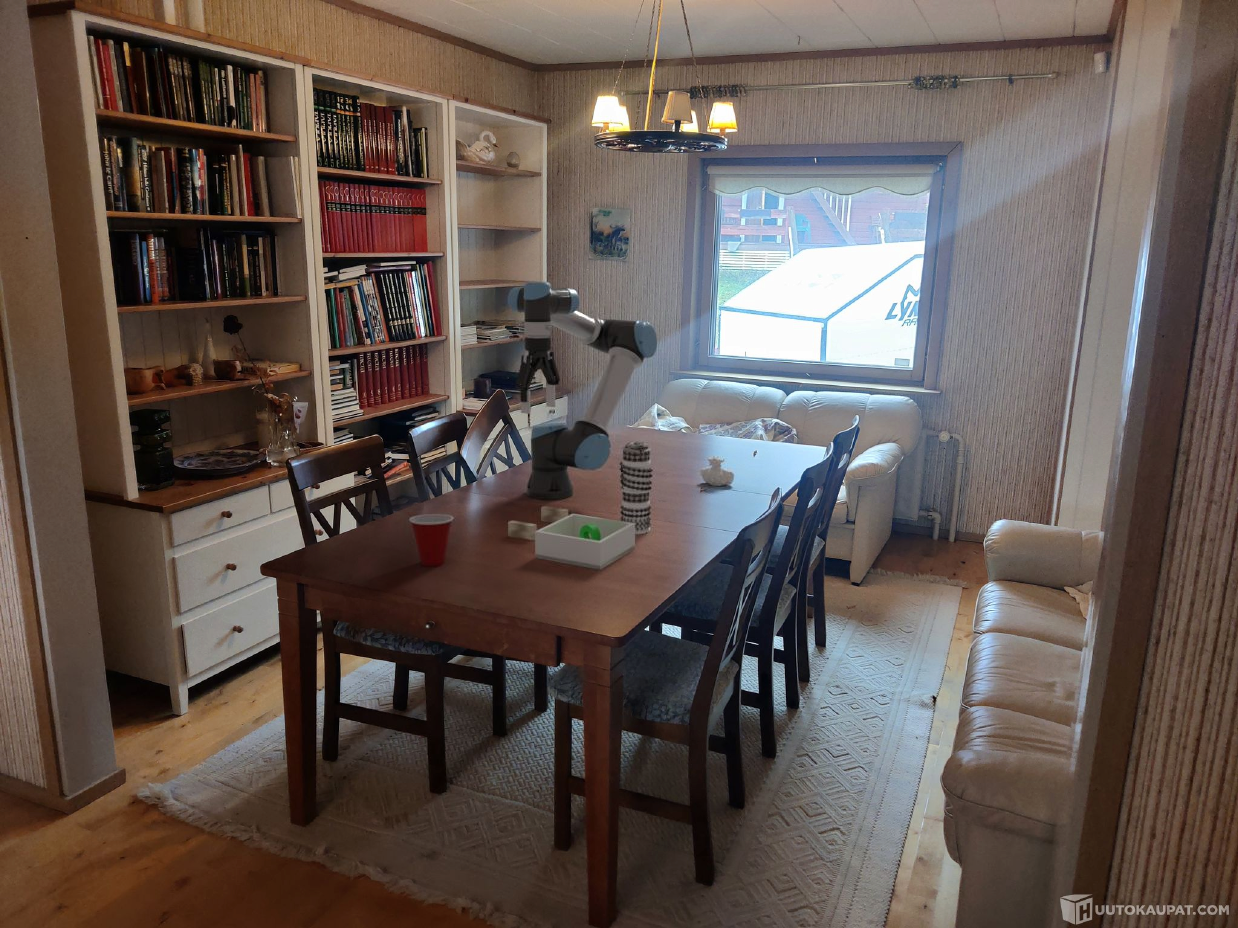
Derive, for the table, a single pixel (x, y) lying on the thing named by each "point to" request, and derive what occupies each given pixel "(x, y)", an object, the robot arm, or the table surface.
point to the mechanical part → (592, 530)
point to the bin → (584, 541)
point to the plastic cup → (432, 537)
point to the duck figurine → (716, 473)
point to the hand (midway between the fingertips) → (538, 410)
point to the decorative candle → (636, 486)
